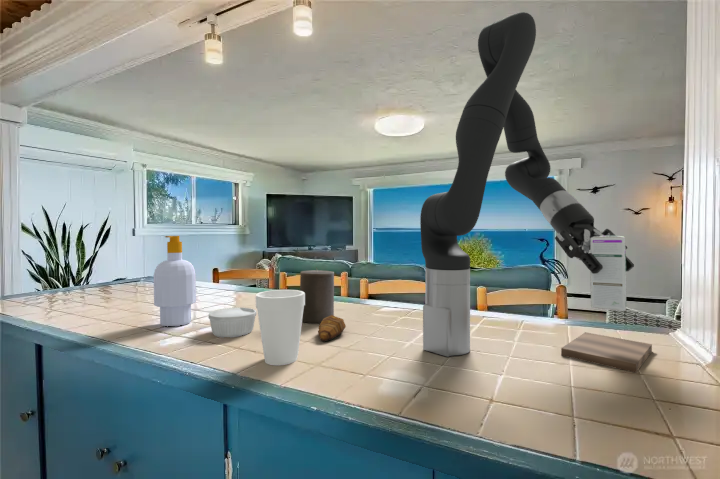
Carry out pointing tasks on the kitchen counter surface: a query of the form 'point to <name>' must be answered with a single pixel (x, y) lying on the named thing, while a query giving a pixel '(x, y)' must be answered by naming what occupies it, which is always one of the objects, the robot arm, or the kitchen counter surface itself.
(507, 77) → the robot arm
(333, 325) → the croissant
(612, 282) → the syrup box
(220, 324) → the ramekin
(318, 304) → the pillar candle
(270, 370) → the kitchen counter surface
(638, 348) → the walnut board
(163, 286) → the soap bottle
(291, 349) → the foam cup
